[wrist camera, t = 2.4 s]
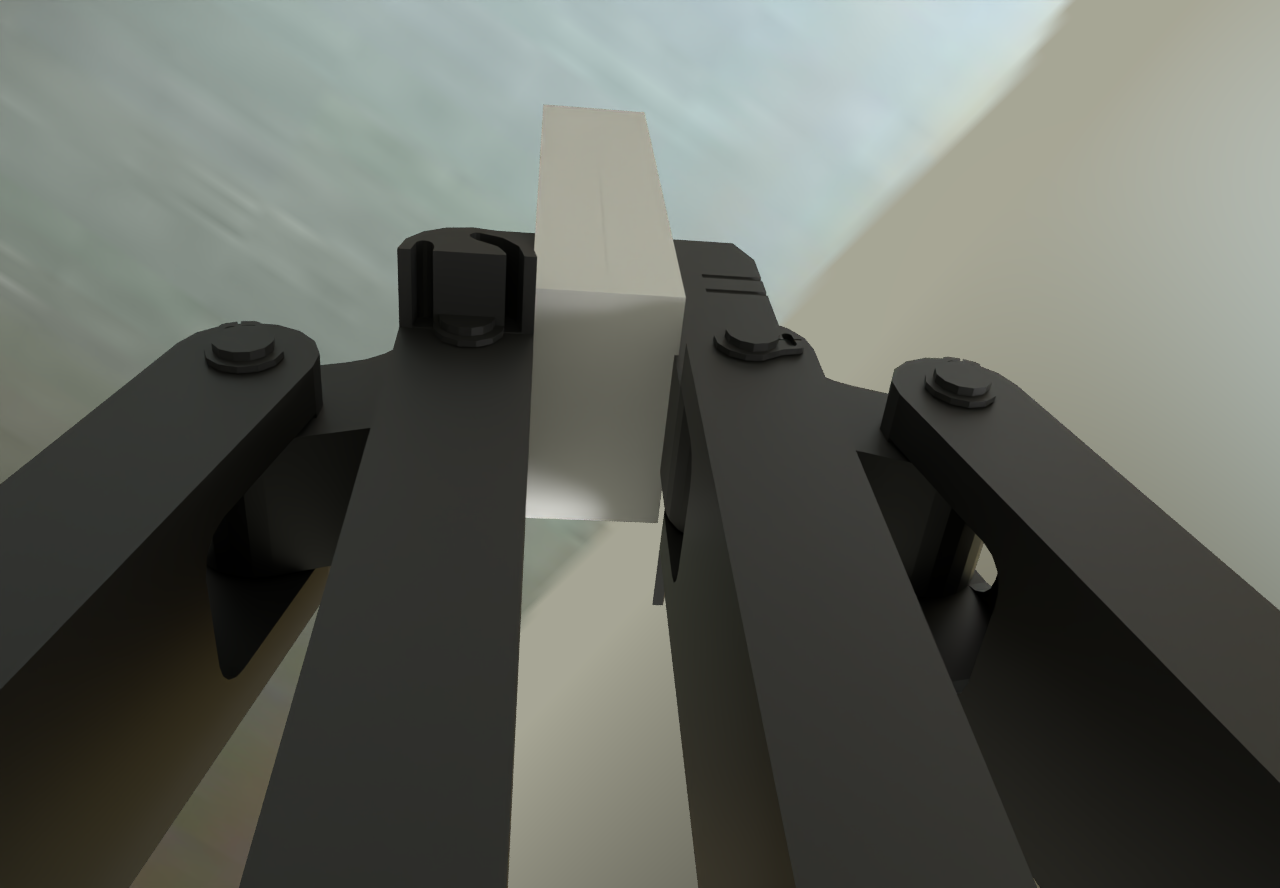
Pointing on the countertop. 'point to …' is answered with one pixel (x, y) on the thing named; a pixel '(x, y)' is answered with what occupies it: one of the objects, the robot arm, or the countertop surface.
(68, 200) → the countertop surface
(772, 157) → the countertop surface
